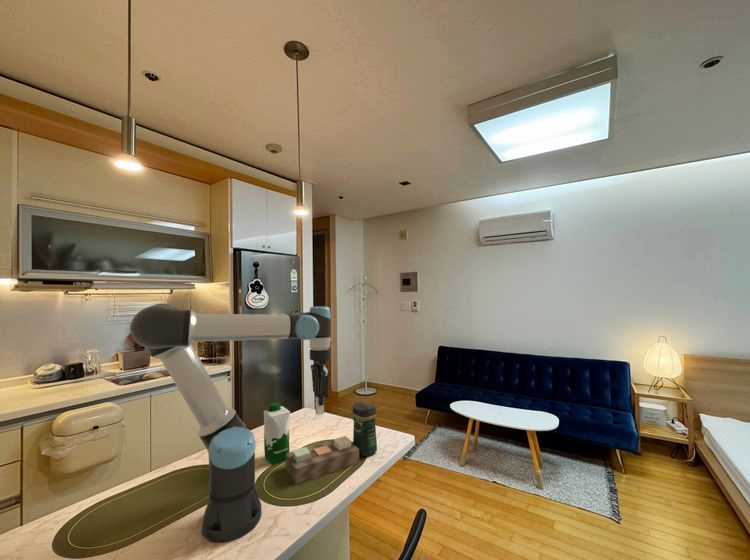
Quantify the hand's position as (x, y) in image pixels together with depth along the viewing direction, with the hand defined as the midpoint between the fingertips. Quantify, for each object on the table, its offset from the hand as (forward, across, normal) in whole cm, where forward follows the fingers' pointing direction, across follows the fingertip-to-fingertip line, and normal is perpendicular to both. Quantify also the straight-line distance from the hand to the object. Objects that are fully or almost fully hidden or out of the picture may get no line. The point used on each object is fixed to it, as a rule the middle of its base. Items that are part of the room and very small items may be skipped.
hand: (319, 413), depth 115 cm
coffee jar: (+19, +1, -20) cm, 27 cm away
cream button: (+16, +1, -10) cm, 18 cm away
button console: (+19, +1, -2) cm, 19 cm away
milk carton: (+20, +15, +11) cm, 27 cm away
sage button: (+16, +1, +6) cm, 17 cm away
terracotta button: (+17, +1, -2) cm, 17 cm away
